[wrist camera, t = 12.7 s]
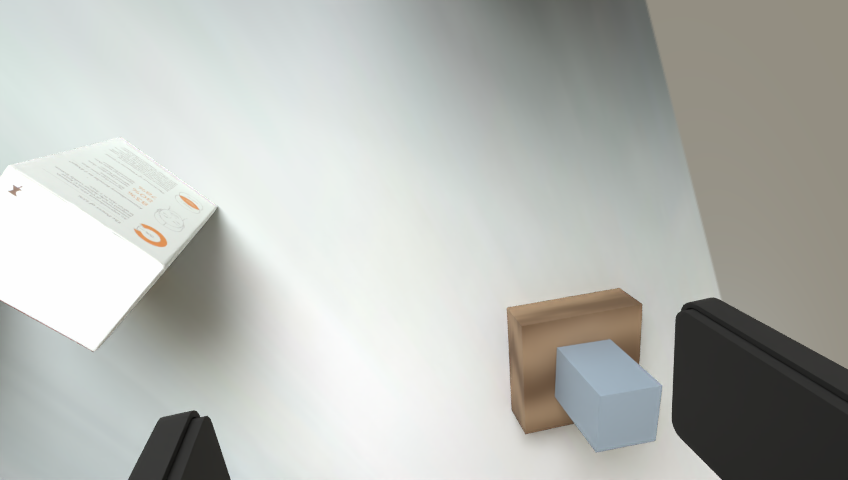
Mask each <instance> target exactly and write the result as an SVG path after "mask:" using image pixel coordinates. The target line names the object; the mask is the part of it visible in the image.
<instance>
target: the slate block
mask: <svg viewBox="0 0 848 480" xmlns="http://www.w3.org/2000/svg"><path fill="white" fill-rule="evenodd" d="M661 392H662V385H661V384H660V383H659V382H658V381H657V380H656V379H654V378H653V377H652V376H651V375H650V374H649V373H648V372H647V371H645V370H644V369H643V368H642V367H641V366H640V365H639V364H638V363H636V362H635V361H634V360H633V359H632V358H631V357H630V356H629V355H627V354H626V353H625V352H624V351H623V350H622V349H621V348H620V347H618V346H617V345H616V344H615V343H614V342H613V341H612V340H611V339H608V340H602V341H595V342H589V343H582V344H576V345H569V346H563V347H557V357H556V380H555V398H556V399H557V401H558V402H559V403H560V405H561V406H562V407H563V409H564V410H565V411H566V413H567V414H568V415H569V417H570V418H571V419H572V421H573V422H574V423H575V425H576V426H577V428H578V429H579V430H580V432H581V433H582V434H583V436H584V437H585V438H586V440H587V441H588V442H589V444H590V445H591V446H592V448H593V449H594V450H595V452H601V451H606V450H611V449H616V448H621V447H626V446H632V445H637V444H642V443H647V442H652V441H656V433H657V425H658V417H659V409H660V400H661Z"/></svg>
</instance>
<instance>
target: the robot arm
mask: <svg viewBox="0 0 848 480" xmlns="http://www.w3.org/2000/svg"><path fill="white" fill-rule="evenodd" d="M672 423H673V427H674V429H675V431H676V433H677V434H678V436H679V437H680V438H681V439H682V440H683V441H684V442H685V443H686V444H687V445H688V446H689V447H690V448H691V449H692V450H693V451H694V452H695V453H696V454H697V455H698V456H699V457H700V458H701V459H702V460H703V461H704V462H705V463H706V464H707V465H708V466H709V467H710V468H711V469H712V470H713V471H714V472H715V473H716V474H717V475H718V476H719V477H720V478H721V479H722V480H848V369H846V368H844V367H842V366H840V365H839V364H837V363H835V362H833V361H831V360H829V359H828V358H826V357H824V356H822V355H820V354H818V353H817V352H815V351H813V350H811V349H809V348H807V347H806V346H804V345H802V344H800V343H798V342H796V341H794V340H792V339H791V338H789V337H787V336H785V335H783V334H782V333H780V332H778V331H776V330H774V329H773V328H771V327H769V326H767V325H765V324H763V323H762V322H760V321H758V320H756V319H754V318H752V317H750V316H749V315H747V314H745V313H743V312H741V311H739V310H738V309H736V308H734V307H732V306H730V305H728V304H727V303H725V302H723V301H721V300H719V299H717V298H707V299H703V300H698V301H693V302H689V303H686V304H685V305H683V307H682V309H681V312H679V313H678V314H677V316H676V323H675V348H674V373H673V398H672ZM128 480H231V479H230V476H229V473H228V470H227V467H226V464H225V461H224V458H223V455H222V452H221V449H220V446H219V443H218V440H217V437H216V434H215V430H214V427H213V424H212V422H211V419H210V418H209V417H208V416H204V417H200V415H199V414H198V412H197V411H194V410H193V411H189V412H184V413H180V414H175V415H171V416H166V417H162V418H160V419H159V421H158V422H157V424H156V426H155V428H154V430H153V432H152V434H151V436H150V438H149V439H148V441H147V443H146V445H145V447H144V449H143V451H142V453H141V455H140V457H139V459H138V461H137V463H136V465H135V467H134V469H133V471H132V473H131V475H130V477H129V479H128Z"/></svg>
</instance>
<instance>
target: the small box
mask: <svg viewBox="0 0 848 480" xmlns="http://www.w3.org/2000/svg"><path fill="white" fill-rule="evenodd" d="M216 209H217V205H216V204H214V203H213V202H212V201H210V200H209V199H207V198H206V197H205V196H203V195H202V194H201V193H199V192H198V191H196V190H195V189H194V188H192V187H191V186H189V185H188V184H187V183H185V182H184V181H183V180H181V179H180V178H178V177H177V176H176V175H174V174H173V173H171V172H170V171H169V170H167V169H166V168H164V167H163V166H162V165H160V164H159V163H157V162H156V161H155V160H153V159H152V158H150V157H149V156H148V155H146V154H145V153H143V152H142V151H141V150H139V149H138V148H136V147H135V146H133V145H132V144H131V143H129V142H128V141H126V140H125V139H124V138H122V137H118V138H114V139H110V140H106V141H102V142H98V143H94V144H90V145H86V146H83V147H79V148H75V149H71V150H68V151H64V152H60V153H56V154H52V155H48V156H44V157H40V158H36V159H32V160H28V161H24V162H21V163H17V164H12V165H9V166H8V167H7V168H6V170H5V171H4V173H3V174H2V176H1V177H0V301H2V302H4V303H6V304H8V305H9V306H11V307H13V308H15V309H17V310H18V311H20V312H22V313H24V314H26V315H27V316H29V317H31V318H33V319H35V320H37V321H38V322H40V323H42V324H44V325H46V326H48V327H49V328H51V329H53V330H55V331H57V332H59V333H60V334H62V335H64V336H66V337H68V338H69V339H71V340H73V341H75V342H77V343H78V344H80V345H82V346H84V347H86V348H88V349H89V350H91V351H92V352H94V351H96V350H97V349H98V348H99V347H100V346H101V345H102V344H103V343H104V342H105V340H106V339H107V338H108V337H109V336H110V335H111V334H112V333H113V331H114V330H115V329H116V328H117V327H118V326H119V324H120V323H121V322H122V321H123V320H124V319H125V317H126V316H127V315H128V314H129V313H130V311H131V310H132V309H133V308H134V307H135V306H136V304H137V303H138V302H139V301H140V300H141V299H142V297H143V296H144V295H145V294H146V293H147V292H148V290H149V289H150V288H151V287H152V286H153V285H154V284H155V282H156V281H157V280H158V279H159V278H160V277H161V275H162V274H163V273H164V272H165V271H166V270H167V268H168V267H169V266H170V265H171V264H172V262H173V261H174V260H175V259H176V258H177V256H178V255H179V254H180V253H181V252H182V250H183V249H184V248H185V247H186V246H187V244H188V243H189V242H190V241H191V240H192V238H193V237H194V236H195V235H196V234H197V232H198V231H199V230H200V229H201V228H202V226H203V225H204V224H205V223H206V222H207V220H208V219H209V218H210V217H211V215H212V214H213V213H214V212H215V210H216Z"/></svg>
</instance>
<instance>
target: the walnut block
mask: <svg viewBox="0 0 848 480" xmlns="http://www.w3.org/2000/svg"><path fill="white" fill-rule="evenodd" d="M507 320H508V342H509V363H510V385H511V406H512V411H513V413H514V415H515V416H516V418H517V420H518V422H519V424H520V425H521V427H522V429H523V431H524V432H525V434H528V433H533V432H538V431H542V430H547V429H551V428H556V427H561V426H565V425H570V424H574V422H573V421H572V419H571V418H570V417H569V415H568V414H567V413H566V411H565V410H564V409H563V407H562V406H561V405H560V403H559V402H558V401H557V399H556V398H555V380H556V357H557V347H563V346H569V345H576V344H582V343H589V342H595V341H602V340H608V339H611V340H612V341H613V342H614V343H615V344H616V345H617V346H618V347H620V348H621V349H622V350H623V351H624V352H625V353H626V354H627V355H629V356H630V357H631V358H632V359H633V360H634V361H635V362H636V363H638V364H639V359H640V340H641V321H642V304H641V303H640V302H639V301H637V300H636V299H634V298H633V297H631V296H630V295H629V294H627V293H626V292H624V291H623V290H621V289H620V288H617V289H611V290H605V291H599V292H594V293H588V294H582V295H577V296H571V297H565V298H560V299H554V300H548V301H542V302H537V303H531V304H525V305H520V306H514V307H508V308H507Z"/></svg>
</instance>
